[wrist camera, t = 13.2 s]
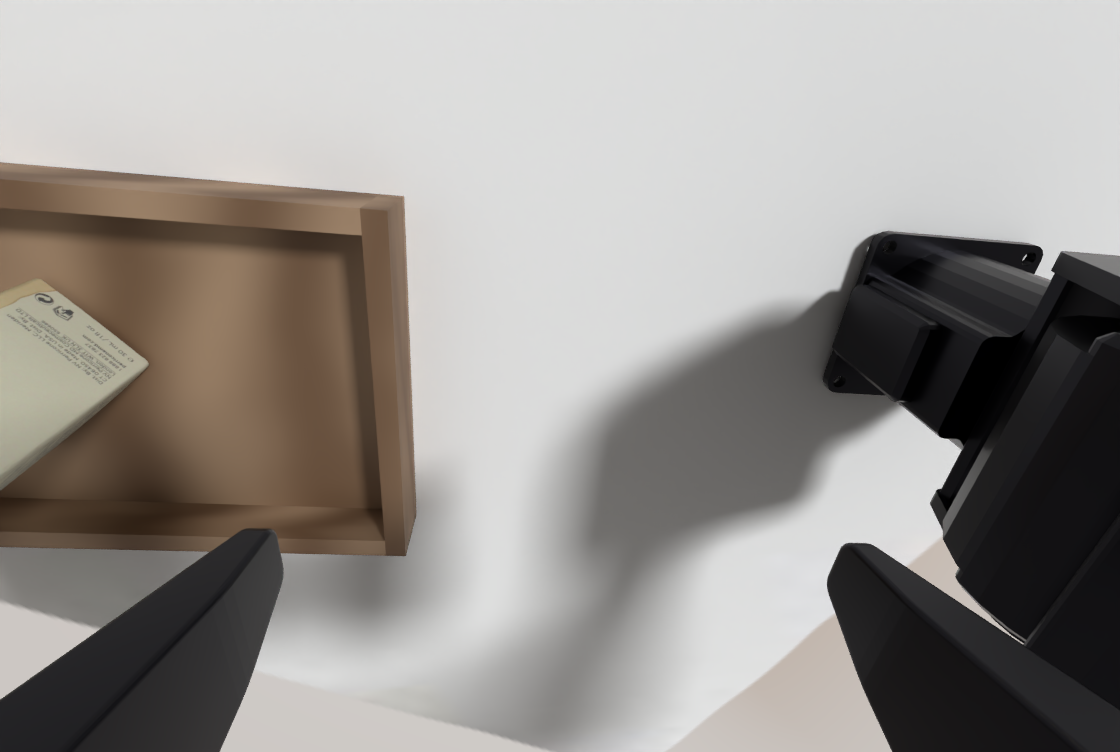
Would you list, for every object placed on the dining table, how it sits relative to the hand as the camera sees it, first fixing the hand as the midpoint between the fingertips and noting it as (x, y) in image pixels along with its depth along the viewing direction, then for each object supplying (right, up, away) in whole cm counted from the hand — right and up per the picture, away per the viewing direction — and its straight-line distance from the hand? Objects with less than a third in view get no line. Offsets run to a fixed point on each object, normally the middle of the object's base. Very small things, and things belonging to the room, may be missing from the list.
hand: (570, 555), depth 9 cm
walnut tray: (-16, +3, +12) cm, 20 cm away
